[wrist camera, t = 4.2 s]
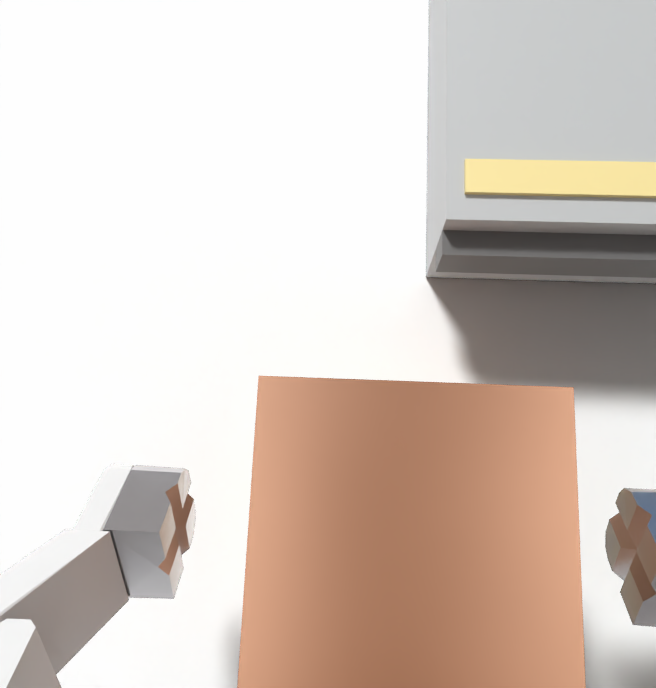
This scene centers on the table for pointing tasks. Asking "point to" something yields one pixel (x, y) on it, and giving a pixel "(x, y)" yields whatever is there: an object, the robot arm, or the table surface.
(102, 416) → the table surface
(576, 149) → the dock
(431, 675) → the copper brown block
